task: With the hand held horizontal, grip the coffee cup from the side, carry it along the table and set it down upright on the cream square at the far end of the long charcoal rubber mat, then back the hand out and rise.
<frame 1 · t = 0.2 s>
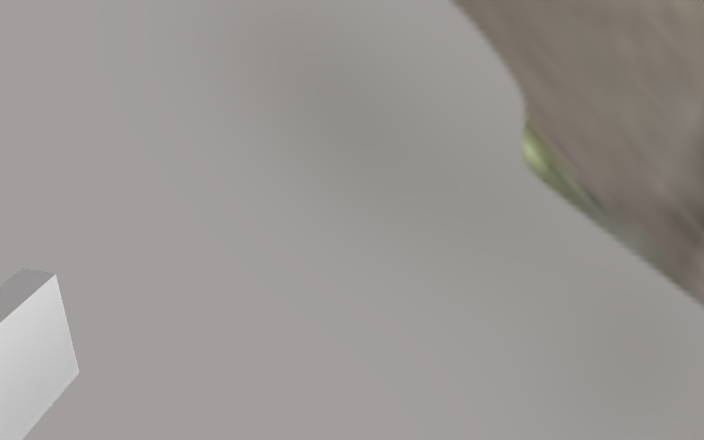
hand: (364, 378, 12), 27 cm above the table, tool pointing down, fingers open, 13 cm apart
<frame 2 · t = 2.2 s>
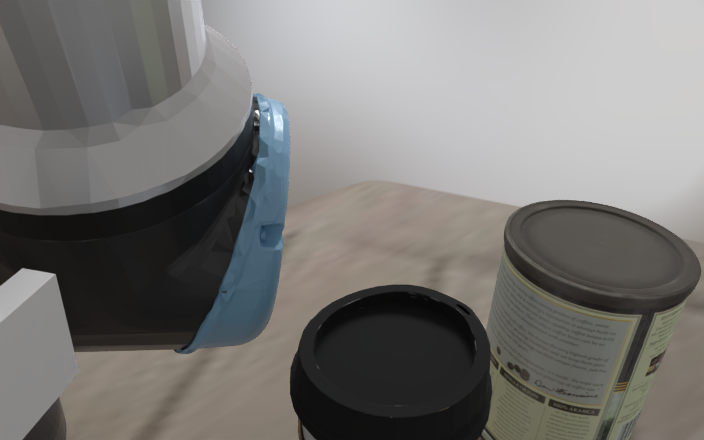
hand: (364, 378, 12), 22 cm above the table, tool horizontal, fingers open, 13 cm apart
coffee can: (544, 419, 40), on the table
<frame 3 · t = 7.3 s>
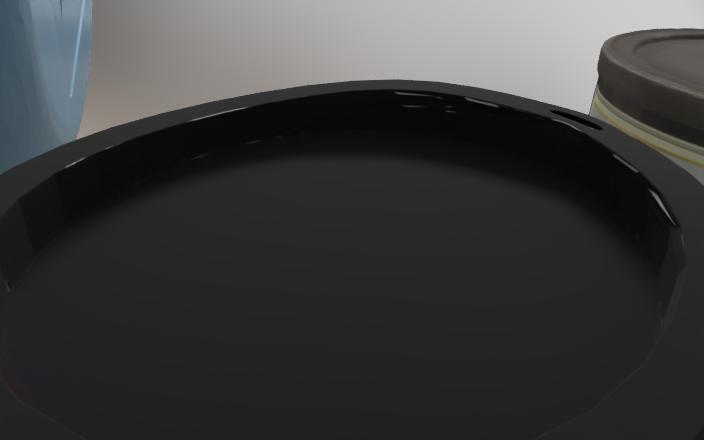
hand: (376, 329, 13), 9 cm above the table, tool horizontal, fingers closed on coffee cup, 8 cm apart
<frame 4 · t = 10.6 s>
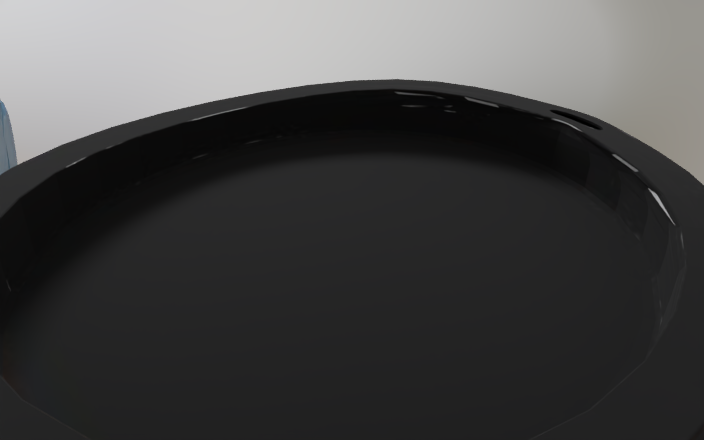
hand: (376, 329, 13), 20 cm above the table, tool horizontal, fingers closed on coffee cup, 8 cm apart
when the fingers open (12 cm above the table, at t = 14.3 s): coffee cup drops 1 cm, point 1 cm above the table.
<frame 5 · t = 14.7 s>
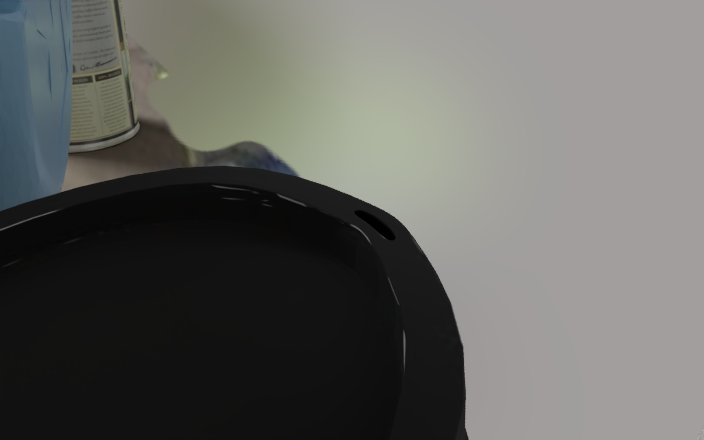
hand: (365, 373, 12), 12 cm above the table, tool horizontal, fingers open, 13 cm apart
coffee can: (80, 133, 53), on the table
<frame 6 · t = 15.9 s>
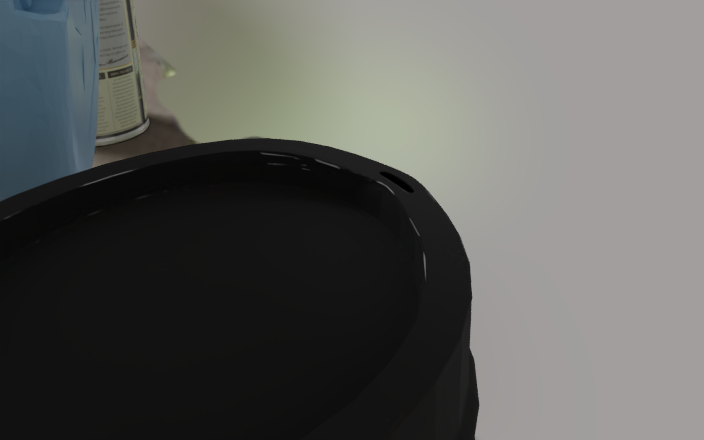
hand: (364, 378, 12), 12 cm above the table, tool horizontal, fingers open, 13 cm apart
coffee can: (92, 129, 54), on the table
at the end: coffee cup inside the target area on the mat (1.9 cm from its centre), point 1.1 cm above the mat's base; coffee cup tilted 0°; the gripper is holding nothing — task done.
